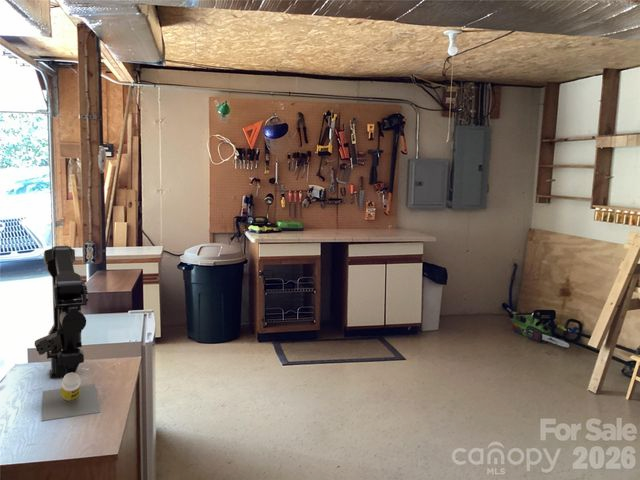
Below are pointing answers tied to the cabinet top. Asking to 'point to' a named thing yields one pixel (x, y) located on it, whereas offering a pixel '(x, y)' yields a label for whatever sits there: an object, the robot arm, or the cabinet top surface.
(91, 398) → the flat gray panel
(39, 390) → the cabinet top surface
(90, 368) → the cabinet top surface
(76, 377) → the supplement bottle
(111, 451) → the cabinet top surface
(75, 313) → the robot arm
